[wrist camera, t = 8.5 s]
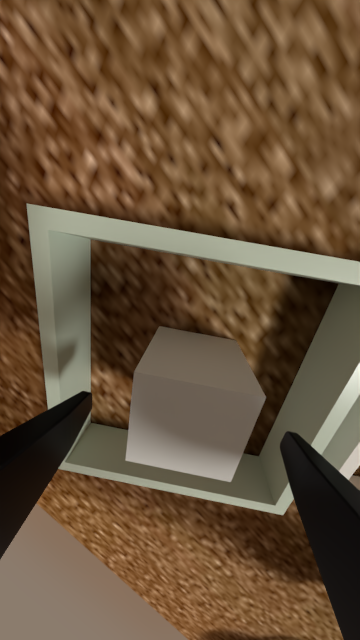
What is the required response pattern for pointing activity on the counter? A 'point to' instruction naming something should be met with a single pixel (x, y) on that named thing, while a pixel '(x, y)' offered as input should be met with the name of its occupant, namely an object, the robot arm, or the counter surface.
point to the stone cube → (192, 404)
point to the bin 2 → (346, 445)
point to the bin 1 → (75, 260)
